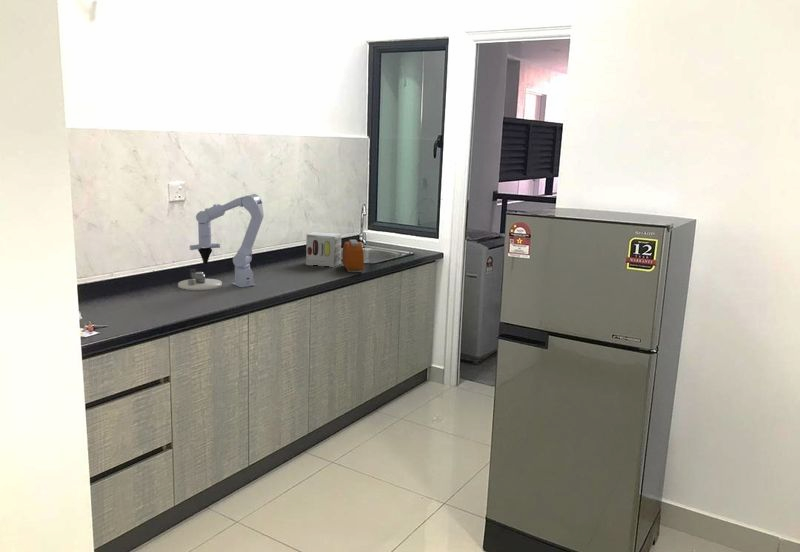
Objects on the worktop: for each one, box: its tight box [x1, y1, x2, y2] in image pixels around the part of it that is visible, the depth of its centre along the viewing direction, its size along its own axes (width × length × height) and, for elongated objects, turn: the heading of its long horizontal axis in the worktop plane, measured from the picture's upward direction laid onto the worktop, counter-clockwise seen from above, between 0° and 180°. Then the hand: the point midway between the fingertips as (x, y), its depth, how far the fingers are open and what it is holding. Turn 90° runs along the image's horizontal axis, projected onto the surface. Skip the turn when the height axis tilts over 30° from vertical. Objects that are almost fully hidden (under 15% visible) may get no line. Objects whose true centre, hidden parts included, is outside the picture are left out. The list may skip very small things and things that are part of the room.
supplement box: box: [305, 231, 342, 268], centre depth 372 cm, size 17×13×18 cm
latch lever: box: [189, 268, 206, 283], centre depth 311 cm, size 12×4×5 cm, turn 41°
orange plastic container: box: [341, 239, 365, 273], centre depth 362 cm, size 23×9×17 cm, turn 12°
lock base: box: [177, 278, 223, 291], centre depth 308 cm, size 20×20×4 cm
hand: (205, 263), depth 315 cm, fingers closed
